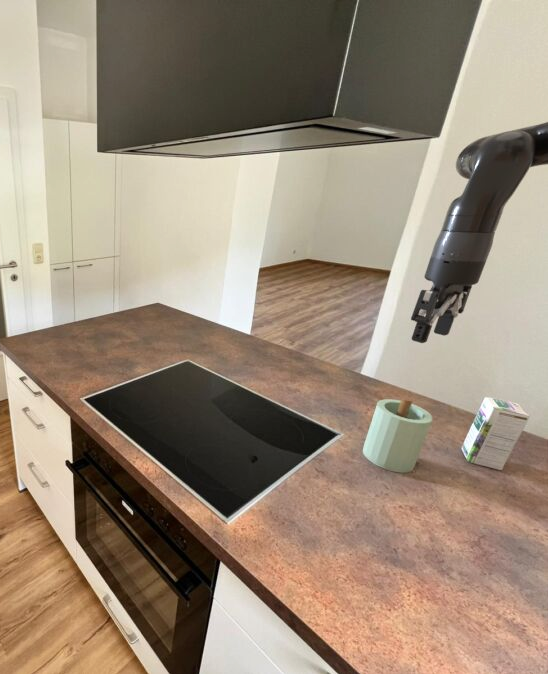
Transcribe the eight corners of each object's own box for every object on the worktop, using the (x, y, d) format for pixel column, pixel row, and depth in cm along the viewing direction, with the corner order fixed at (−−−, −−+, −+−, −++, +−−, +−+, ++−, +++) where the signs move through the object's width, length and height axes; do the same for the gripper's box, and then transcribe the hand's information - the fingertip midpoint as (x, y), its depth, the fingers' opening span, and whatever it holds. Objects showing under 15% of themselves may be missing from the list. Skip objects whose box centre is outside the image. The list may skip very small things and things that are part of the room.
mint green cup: (403, 449, 86) (420, 403, 81) (421, 477, 78) (441, 426, 73) (357, 442, 89) (371, 396, 84) (370, 467, 80) (386, 418, 76)
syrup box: (459, 448, 86) (482, 395, 81) (494, 456, 83) (520, 402, 78) (467, 462, 82) (492, 407, 76) (503, 471, 79) (532, 415, 73)
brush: (393, 452, 84) (413, 396, 78) (398, 461, 81) (420, 404, 76) (377, 449, 85) (395, 394, 79) (382, 458, 82) (401, 401, 77)
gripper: (451, 251, 72) (425, 326, 78) (413, 256, 66) (388, 337, 72) (503, 255, 66) (470, 337, 72) (466, 262, 60) (434, 351, 66)
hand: (429, 337), depth 72 cm, fingers open, 8 cm apart
